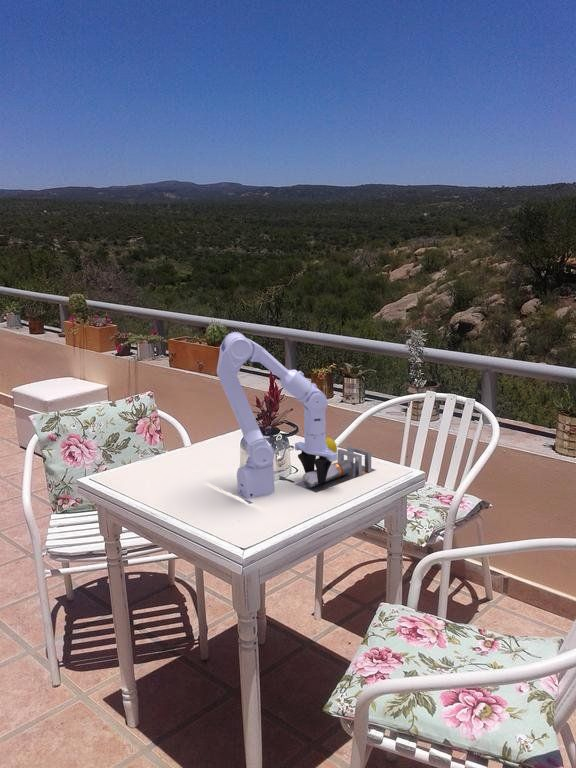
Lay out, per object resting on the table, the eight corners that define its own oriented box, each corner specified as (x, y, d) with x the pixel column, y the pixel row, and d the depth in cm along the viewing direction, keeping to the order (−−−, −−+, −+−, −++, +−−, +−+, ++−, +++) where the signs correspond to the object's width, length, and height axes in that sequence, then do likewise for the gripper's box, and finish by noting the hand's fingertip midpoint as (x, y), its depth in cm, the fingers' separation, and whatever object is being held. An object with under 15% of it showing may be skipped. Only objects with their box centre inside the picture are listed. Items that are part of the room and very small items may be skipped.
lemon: (337, 465, 197) (337, 439, 196) (319, 465, 197) (318, 440, 196) (336, 458, 203) (336, 434, 201) (318, 459, 203) (318, 434, 201)
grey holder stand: (316, 496, 174) (315, 471, 172) (294, 488, 180) (293, 464, 179) (376, 473, 189) (376, 450, 187) (354, 466, 195) (354, 444, 194)
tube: (313, 489, 176) (312, 475, 175) (302, 485, 179) (302, 471, 178) (351, 475, 185) (351, 461, 184) (341, 471, 188) (341, 458, 187)
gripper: (344, 434, 173) (345, 483, 176) (307, 424, 184) (308, 470, 187) (325, 440, 169) (326, 490, 172) (288, 429, 179) (290, 476, 182)
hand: (316, 480), depth 179 cm, fingers closed on tube, 4 cm apart
